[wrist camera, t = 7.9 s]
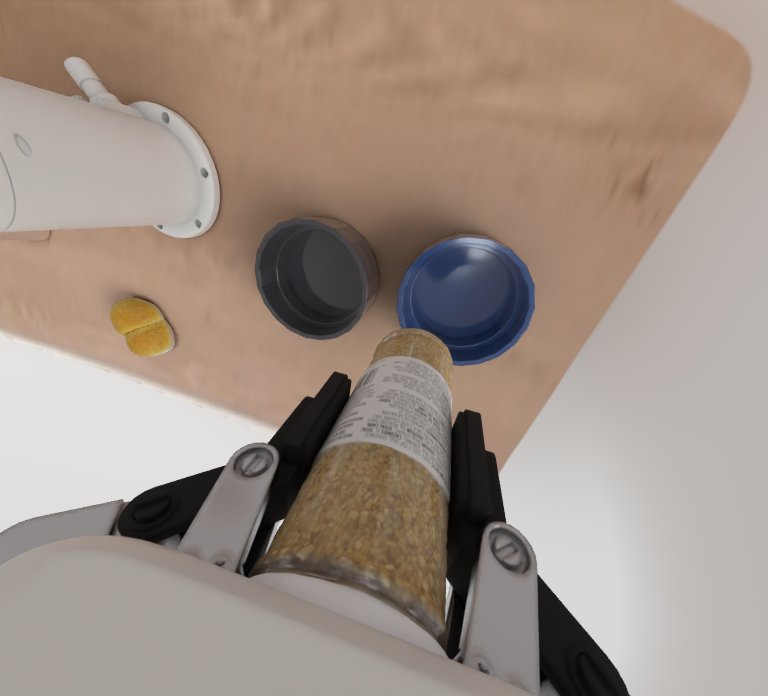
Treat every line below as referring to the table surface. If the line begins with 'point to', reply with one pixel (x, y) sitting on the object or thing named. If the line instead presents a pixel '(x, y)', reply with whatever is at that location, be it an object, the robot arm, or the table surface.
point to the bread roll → (142, 327)
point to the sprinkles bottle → (378, 500)
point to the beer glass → (25, 235)
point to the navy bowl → (468, 296)
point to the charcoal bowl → (316, 276)
